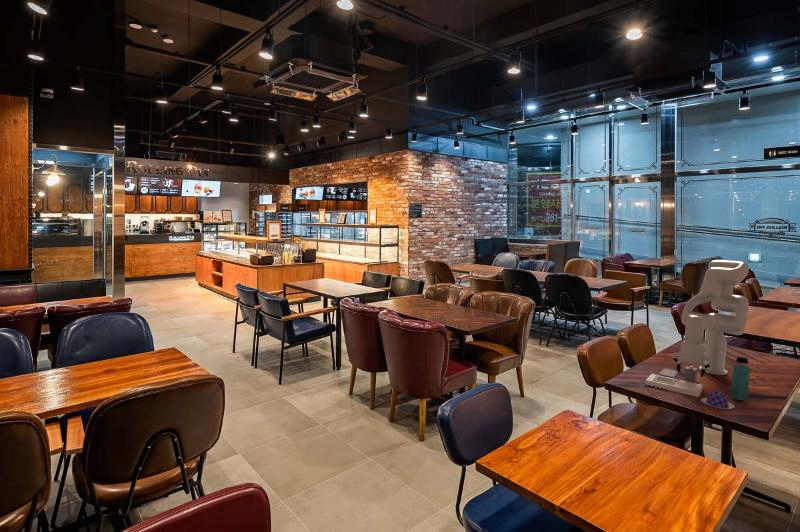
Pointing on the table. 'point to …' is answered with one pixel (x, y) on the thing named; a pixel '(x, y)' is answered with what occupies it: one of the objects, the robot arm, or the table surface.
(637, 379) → the table surface
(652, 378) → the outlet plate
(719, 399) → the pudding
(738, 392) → the beverage bottle
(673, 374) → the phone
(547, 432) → the table surface
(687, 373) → the charger
